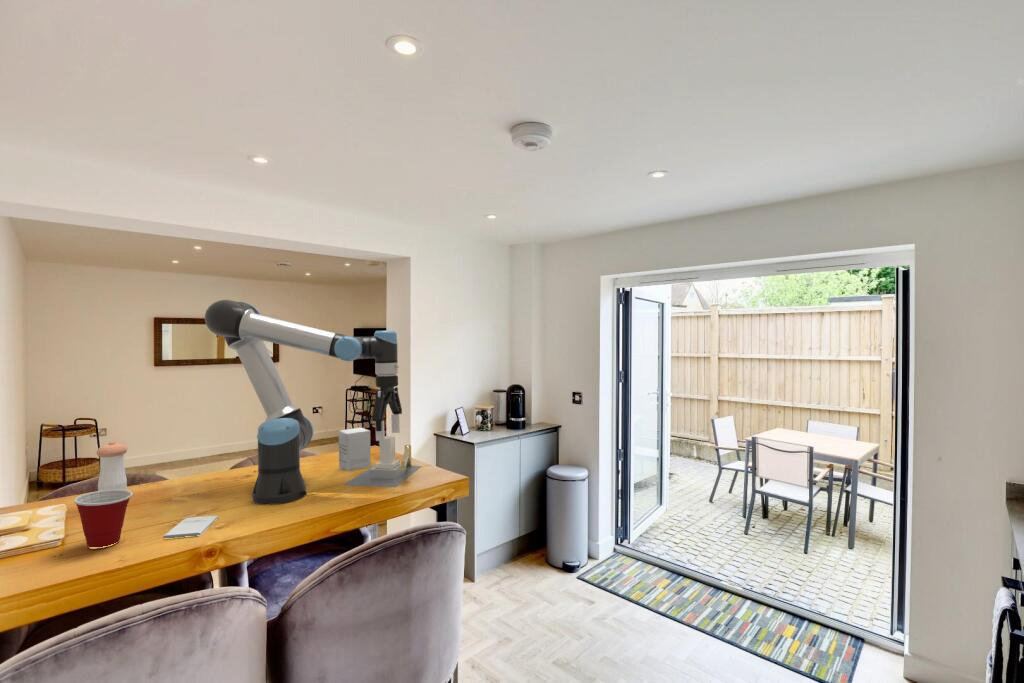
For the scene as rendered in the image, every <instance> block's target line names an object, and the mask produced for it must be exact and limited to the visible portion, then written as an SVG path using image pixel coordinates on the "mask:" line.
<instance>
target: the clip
mask: <svg viewBox="0 0 1024 683" xmlns="http://www.w3.org/2000/svg"><path fill="white" fill-rule="evenodd" d="M400 463H401V470H405V468H406V466H412V445H411V444H405V445H404V452H403V455H402V458H401V460H400Z"/></svg>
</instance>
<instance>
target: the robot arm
mask: <svg viewBox="0 0 1024 683" xmlns="http://www.w3.org/2000/svg"><path fill="white" fill-rule="evenodd" d="M204 322H205V326H206V327H207V328H208V330H209V331H210V332H212V334H214V335H216V336H219V337H223V338H224V340H225V342H226V345H227V346H228V348H230V349H232V350H234V351H236V353H237V355H238V357H239V361H240V362H241V364H242V366H243V368H244V370H245V373H246V375H247V377H248V379H249V380H250V383H251V385H252V387H253V390H254V391H255V393H256V395H257V398H258V400H259V402H260V403H261V406H262V408H263V410H264V412H265V415H266V418H265V421H264V422H262V423H260V424H259V426H258V427H257V428H258V429H257V434H256V439H257V467H258V468H257V470H258V471H257V473H258V474H257V477H256V480H255V484H254V486H253V490H252V492H251V501H252V503H254V502H255V503H254V504H257V503H258V504H257V505H265V504H269V505H279V504H286V503H290V501H291V502H294V501H296V500H299V499H302V498H304V497H305V496H306V495H305V494H307V487H306V484H305V480H304V478H303V475H302V472H301V468H300V467H301V464H300V462H301V461H300V458H301V456H300V454H301V453H300V452H301V451H303V450H304V449H305V448H306V447H308V446H309V444H310V443H311V441H312V439H313V436H314V426H313V424H312V422H311V421H310V419H309V418H308V417H305V416H304V414H303V411H302V409H301V408H300V406H297V405H295V404H294V403H293V401H292V400H291V397H290V395H289V393H288V391H287V389H286V387H285V385H284V382H283V380H282V378H281V376H280V374H279V372H278V370H277V368H276V365H275V363H274V362H273V359H272V357H271V354H270V352H269V351H268V349H267V346H266V344H265V342H268V343H273V344H277V345H281V346H285V347H289V348H294V349H299V350H302V351H306V352H310V353H316V354H320V355H324V356H328V357H331V358H337V359H339V360H342V361H344V362H352V361H355V360H360V359H361V360H364V359H374V360H375V361H374V363H375V364H374V366H375V370H374V371H375V372H374V373H375V375H376V376H375V386H376V388H379V390H376V391H375V399H374V406H373V411H372V417H371V421H372V422H375V441H376V442H379V441H384V440H385V439H384V436H385V421H384V416H385V413H386V409H387V406H389V408H390V411H391V413H392V414H390V415H391V418H390V419H391V421H390V422H391V433H392V434H400V432H401V431H400V427H401V426H400V415H402V414H403V408H402V405H401V404H402V403H401V400H400V396H399V388H398V385H399V376H398V375H397V374H398V373H399V371H398V370H399V367H400V366H399V365H398V338H397V337H398V336H397V332H396V330H395V331H394V330H376V331H375V332H374V333H373V334H374V335H372V336H349V335H347V334H346V335H345V334H341V333H336V332H333V331H328V330H324V329H321V328H316V327H311V326H309V325H304V324H301V323H297V322H292V321H288V320H284V319H279V318H276V317H272V316H267V315H262V314H261V313H260V311H259V310H258V309H257V308H256V307H255V306H253V305H251V304H250V303H247V302H244V301H236V300H235V301H234V300H232V299H231V300H230V299H221V300H217V301H215V302H213V303H211V305H209V306H208V308H207V309H206V310H205V314H204Z"/></svg>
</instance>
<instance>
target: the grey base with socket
mask: <svg viewBox="0 0 1024 683" xmlns="http://www.w3.org/2000/svg"><path fill="white" fill-rule="evenodd" d="M421 468H422V465H411V466H406V468H405V470H401V462H400V464H399V465H398V466H396V467H395V468H393V469H379V468H375V465H374V466H371V467H369V468H368V469H367V470H365V471H363V472H362V473H360V474H359V475H356V476H355V477H354V478H352V479H350V480H348V481H347V482H345V483H344V484H343V486H348V487H349V486H351V487H370V488H371V487H374V488H376V487H377V488H397V487H398V486H399V485H401V484H402V483H403V482H405V480H407V479H408V478H410V477H411V476H412V475H413V474H414V473H416V472H417V471H418V470H420V469H421Z"/></svg>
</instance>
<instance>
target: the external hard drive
mask: <svg viewBox="0 0 1024 683" xmlns="http://www.w3.org/2000/svg"><path fill="white" fill-rule="evenodd" d="M217 518H218V519H219V516H218V515H208V516H193V517H185V518H184V519H182V520H181V521H180V522H179V523H178V524H176V525H175V526H174V527H173V528H171V529H170V530H169V531H168V532H167V533H165V534H164V535H163V536H162V539H163V538H175V537H185V536H197V535H201V534H202V533H203V532H204V531H205V530H206V529H207V528H208V527H209V526H210V525H211V524H212V523H213V522H214V521H215V520H216V519H217ZM218 519H217V520H218ZM217 520H216V521H217ZM216 521H215V522H216ZM215 522H214V523H215ZM214 523H213V524H214ZM213 524H212V525H213ZM212 525H211V526H212ZM211 526H210V527H211ZM210 527H209V528H210ZM209 528H208V529H209ZM208 529H207V530H208ZM207 530H206V531H207ZM206 531H205V532H206ZM205 532H204V533H205ZM204 533H203V534H204ZM203 534H202V535H203ZM202 535H201V536H202Z"/></svg>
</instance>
